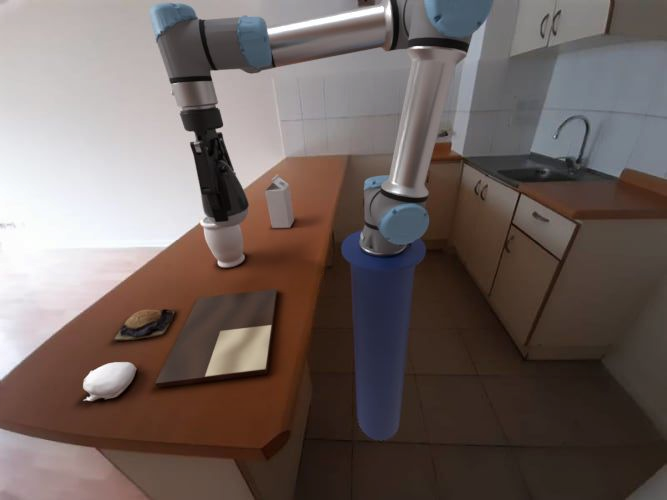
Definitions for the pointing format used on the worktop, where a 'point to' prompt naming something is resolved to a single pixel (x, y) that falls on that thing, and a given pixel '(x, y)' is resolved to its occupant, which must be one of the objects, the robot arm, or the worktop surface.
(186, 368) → the cutting board
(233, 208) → the black egg-shaped ornament
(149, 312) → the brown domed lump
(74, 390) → the worktop surface
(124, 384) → the garlic
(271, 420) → the worktop surface
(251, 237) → the worktop surface
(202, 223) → the jar
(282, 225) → the milk carton
